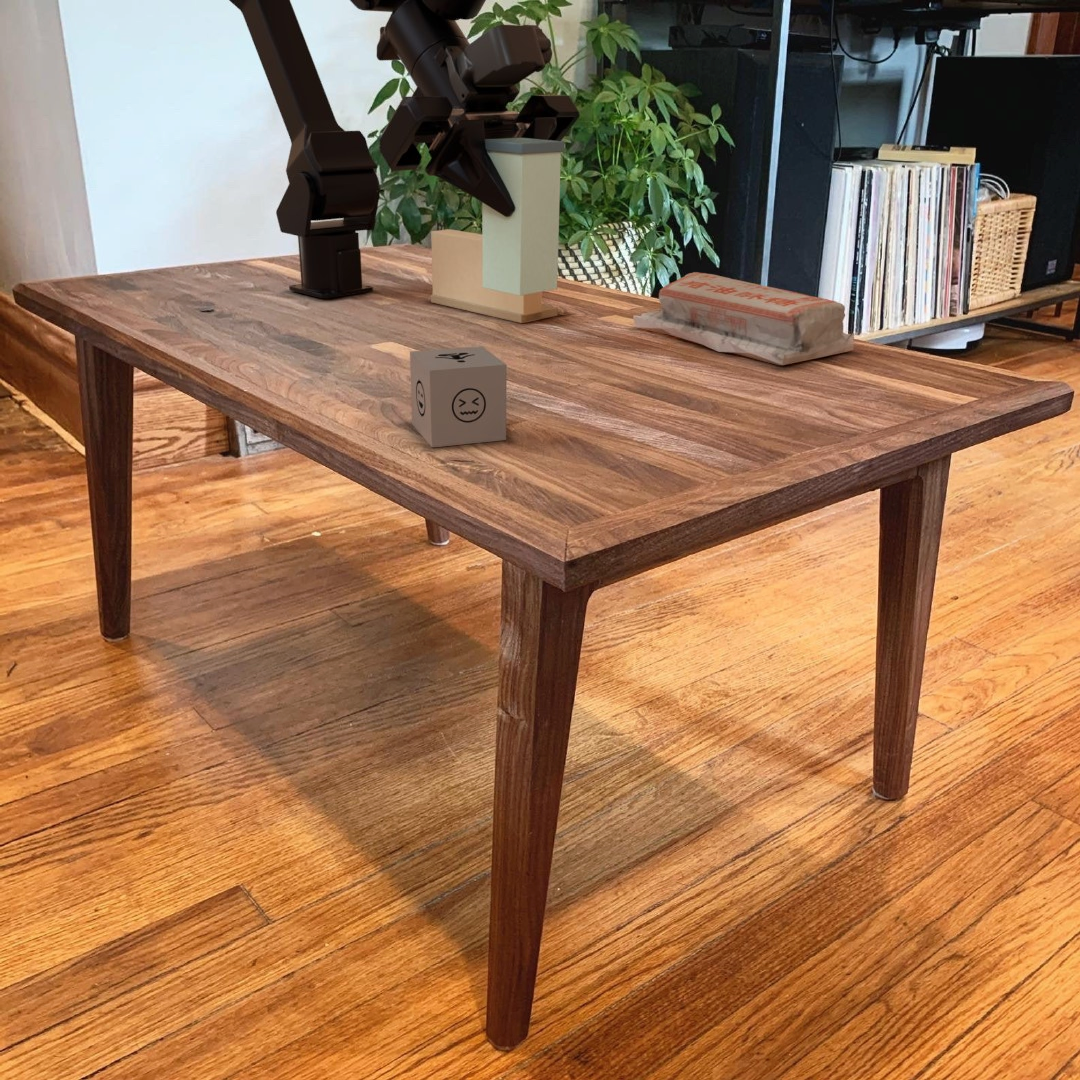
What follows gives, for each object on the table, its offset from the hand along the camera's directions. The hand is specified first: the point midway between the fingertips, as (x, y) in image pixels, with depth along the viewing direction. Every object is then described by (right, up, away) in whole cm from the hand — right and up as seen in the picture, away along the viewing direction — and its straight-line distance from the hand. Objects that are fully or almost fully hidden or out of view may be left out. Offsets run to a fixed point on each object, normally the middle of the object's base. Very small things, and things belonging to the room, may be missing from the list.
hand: (532, 211), depth 89 cm
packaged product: (+19, -10, +7) cm, 22 cm away
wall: (-5, -5, +17) cm, 18 cm away
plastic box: (-1, -6, +4) cm, 7 cm away
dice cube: (-5, -20, -18) cm, 28 cm away
